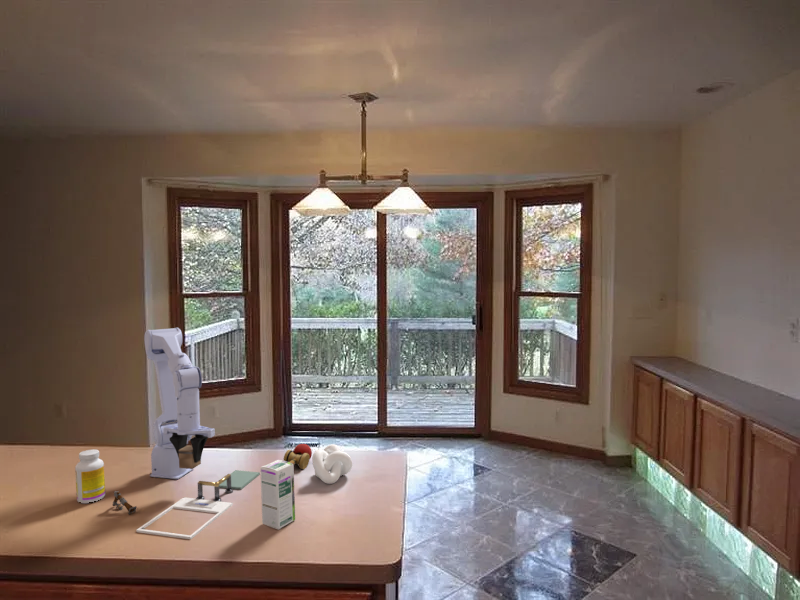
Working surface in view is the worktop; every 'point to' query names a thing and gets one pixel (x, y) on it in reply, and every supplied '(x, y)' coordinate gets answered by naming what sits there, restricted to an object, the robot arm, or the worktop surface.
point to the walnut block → (187, 458)
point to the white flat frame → (194, 506)
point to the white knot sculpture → (331, 463)
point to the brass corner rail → (215, 487)
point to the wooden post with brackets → (123, 502)
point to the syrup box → (277, 494)
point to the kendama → (299, 455)
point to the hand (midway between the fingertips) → (190, 460)
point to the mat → (240, 479)
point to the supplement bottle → (90, 477)
